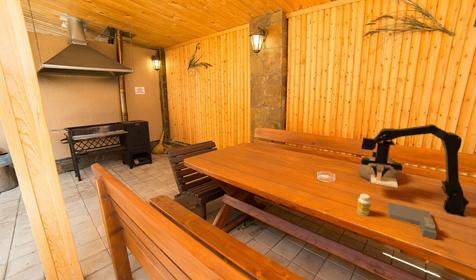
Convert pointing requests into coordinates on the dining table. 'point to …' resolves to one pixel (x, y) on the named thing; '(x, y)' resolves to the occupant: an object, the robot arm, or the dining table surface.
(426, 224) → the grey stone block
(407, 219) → the case
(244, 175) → the dining table surface
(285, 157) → the dining table surface
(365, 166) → the bread
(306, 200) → the dining table surface
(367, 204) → the supplement bottle
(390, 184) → the cover
